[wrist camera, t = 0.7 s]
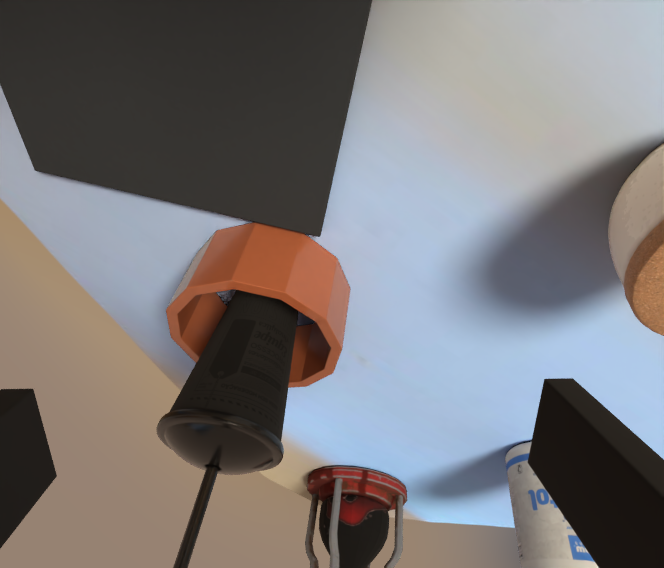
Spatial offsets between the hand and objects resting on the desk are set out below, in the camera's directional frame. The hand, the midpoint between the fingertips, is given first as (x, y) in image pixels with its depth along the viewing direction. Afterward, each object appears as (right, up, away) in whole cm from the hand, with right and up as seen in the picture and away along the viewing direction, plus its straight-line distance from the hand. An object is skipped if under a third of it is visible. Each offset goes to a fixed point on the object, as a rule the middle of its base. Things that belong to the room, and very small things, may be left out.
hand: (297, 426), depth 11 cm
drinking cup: (-4, +4, +23) cm, 24 cm away
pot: (-4, +4, +23) cm, 24 cm away
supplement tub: (+27, -17, +39) cm, 50 cm away
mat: (-8, +15, +12) cm, 21 cm away
